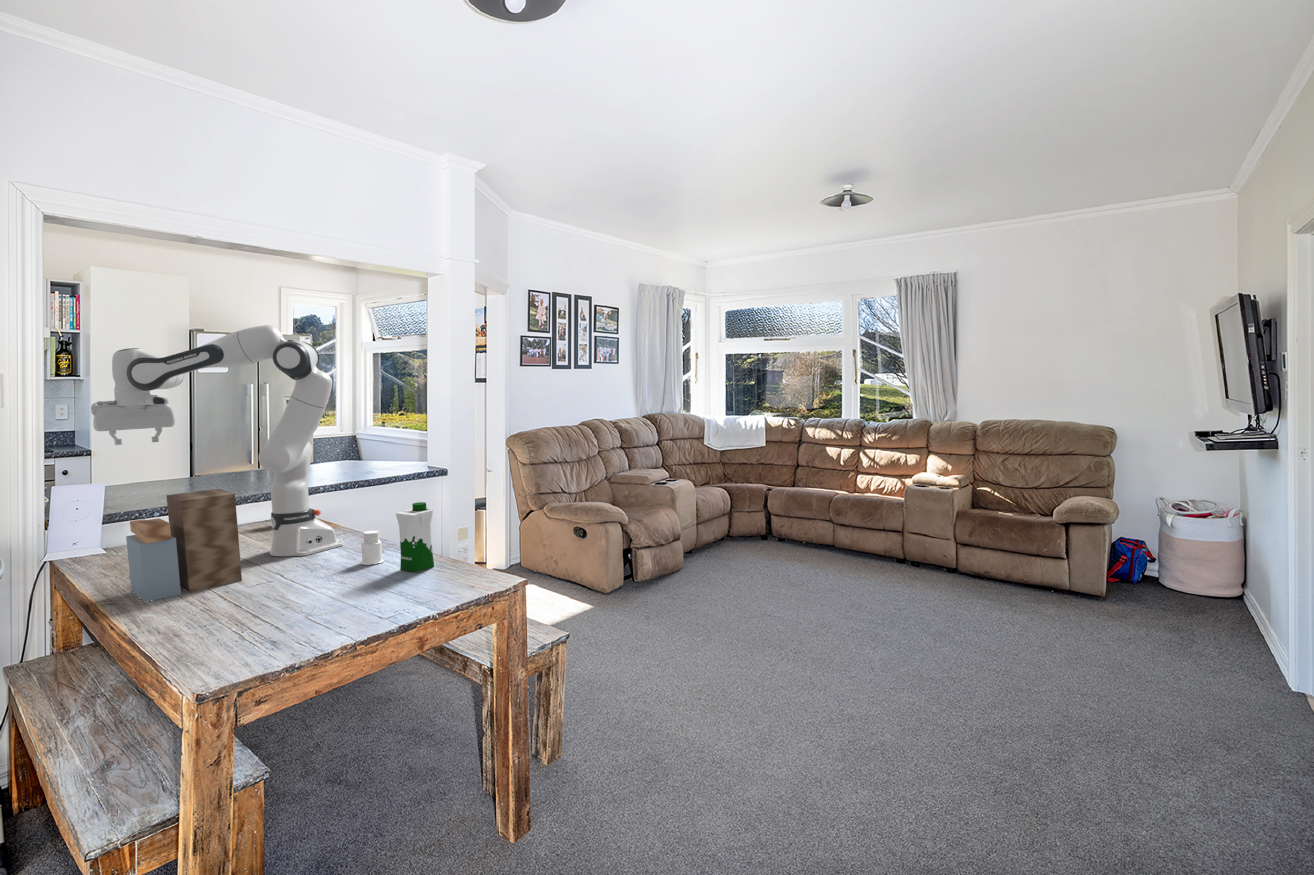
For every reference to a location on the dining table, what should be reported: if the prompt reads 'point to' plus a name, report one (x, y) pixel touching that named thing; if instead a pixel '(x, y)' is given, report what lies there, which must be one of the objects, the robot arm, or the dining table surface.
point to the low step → (153, 568)
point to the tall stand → (205, 538)
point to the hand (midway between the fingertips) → (137, 443)
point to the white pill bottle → (371, 548)
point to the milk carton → (415, 538)
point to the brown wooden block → (151, 530)
